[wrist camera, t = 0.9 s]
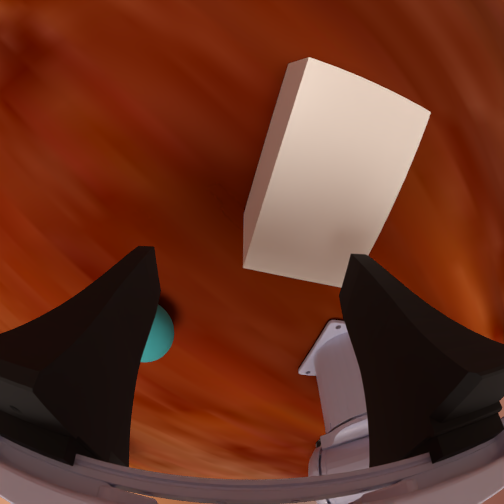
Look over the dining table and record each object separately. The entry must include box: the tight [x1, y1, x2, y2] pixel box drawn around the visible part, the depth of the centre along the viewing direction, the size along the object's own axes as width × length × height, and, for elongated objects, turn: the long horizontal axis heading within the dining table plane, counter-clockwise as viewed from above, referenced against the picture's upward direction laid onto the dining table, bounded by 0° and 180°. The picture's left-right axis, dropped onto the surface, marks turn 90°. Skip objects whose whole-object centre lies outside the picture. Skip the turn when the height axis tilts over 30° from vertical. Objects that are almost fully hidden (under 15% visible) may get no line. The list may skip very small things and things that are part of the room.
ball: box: [141, 305, 174, 362], centre depth 22 cm, size 5×5×5 cm
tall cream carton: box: [243, 57, 431, 288], centre depth 15 cm, size 6×10×6 cm, turn 165°
